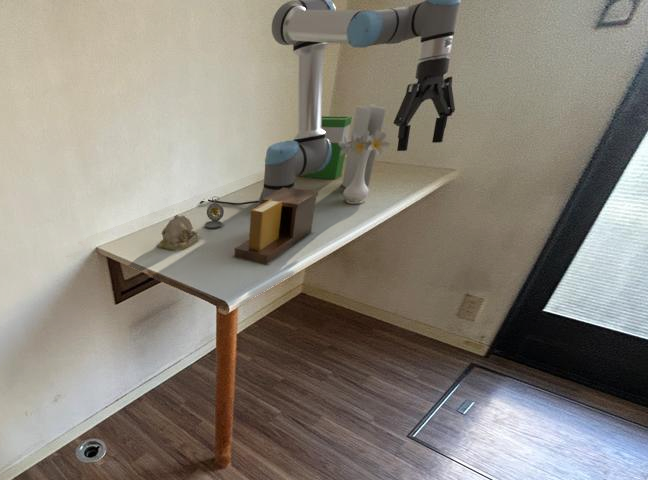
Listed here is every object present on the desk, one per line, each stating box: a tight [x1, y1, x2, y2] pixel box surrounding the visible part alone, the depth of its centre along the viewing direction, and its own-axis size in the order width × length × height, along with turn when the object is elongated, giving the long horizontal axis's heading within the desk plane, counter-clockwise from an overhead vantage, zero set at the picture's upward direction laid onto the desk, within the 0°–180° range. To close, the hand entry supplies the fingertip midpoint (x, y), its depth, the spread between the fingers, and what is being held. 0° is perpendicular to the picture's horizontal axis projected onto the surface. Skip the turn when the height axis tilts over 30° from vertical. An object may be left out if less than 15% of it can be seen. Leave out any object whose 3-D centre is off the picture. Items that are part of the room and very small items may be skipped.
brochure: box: [341, 103, 387, 189], centre depth 170 cm, size 14×6×30 cm, turn 179°
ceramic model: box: [158, 214, 199, 251], centre depth 147 cm, size 14×11×10 cm
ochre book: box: [248, 199, 282, 251], centre depth 132 cm, size 4×12×12 cm, turn 137°
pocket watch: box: [204, 196, 225, 229], centre depth 158 cm, size 8×8×10 cm
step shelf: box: [234, 188, 319, 266], centre depth 137 cm, size 13×30×14 cm, turn 137°
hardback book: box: [301, 115, 353, 180], centre depth 191 cm, size 18×7×24 cm, turn 50°
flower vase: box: [338, 130, 390, 205], centre depth 159 cm, size 13×18×25 cm
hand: (419, 146), depth 124 cm, fingers open, 13 cm apart
